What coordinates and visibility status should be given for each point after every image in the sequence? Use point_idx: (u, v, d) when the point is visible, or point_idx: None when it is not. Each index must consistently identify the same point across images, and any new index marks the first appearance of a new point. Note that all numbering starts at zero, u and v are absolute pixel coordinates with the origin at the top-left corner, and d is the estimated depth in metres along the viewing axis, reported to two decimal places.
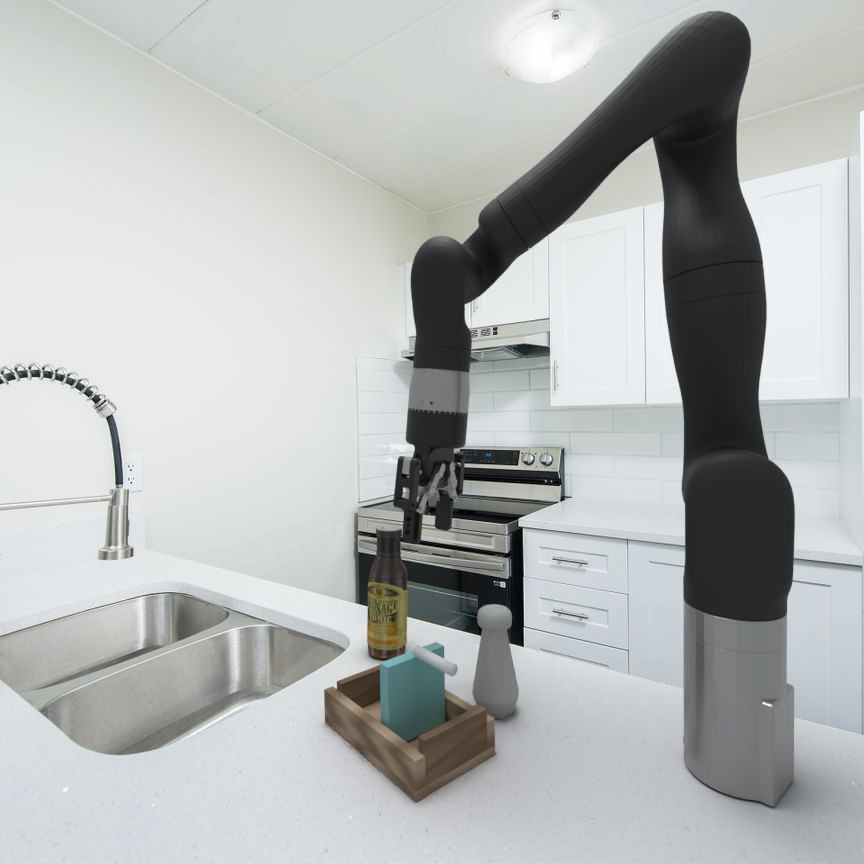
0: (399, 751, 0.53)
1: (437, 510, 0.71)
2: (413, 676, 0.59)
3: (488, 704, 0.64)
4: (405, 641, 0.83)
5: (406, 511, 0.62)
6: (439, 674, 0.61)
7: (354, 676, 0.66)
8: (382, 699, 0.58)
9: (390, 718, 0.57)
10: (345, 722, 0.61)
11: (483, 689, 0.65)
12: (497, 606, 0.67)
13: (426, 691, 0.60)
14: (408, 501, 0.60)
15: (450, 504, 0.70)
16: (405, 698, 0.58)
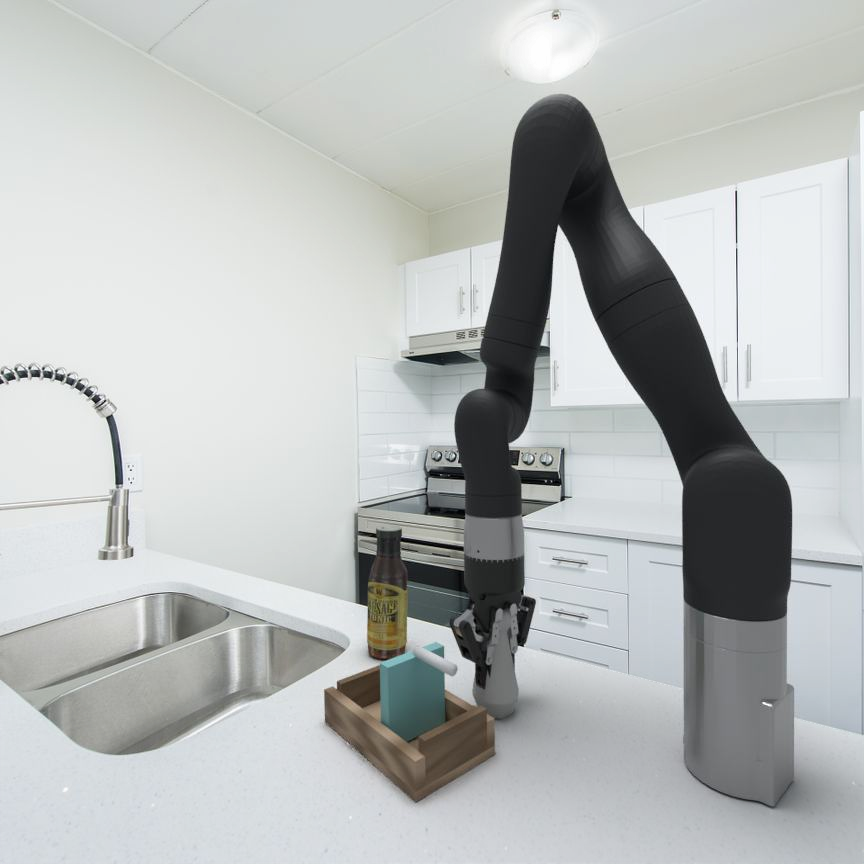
0: (399, 751, 0.53)
1: None
2: (413, 676, 0.59)
3: (488, 704, 0.64)
4: (405, 641, 0.83)
5: None
6: (439, 674, 0.61)
7: (354, 676, 0.66)
8: (382, 699, 0.58)
9: (390, 718, 0.57)
10: (345, 722, 0.61)
11: (483, 689, 0.65)
12: None
13: (426, 691, 0.60)
14: None
15: None
16: (405, 698, 0.58)
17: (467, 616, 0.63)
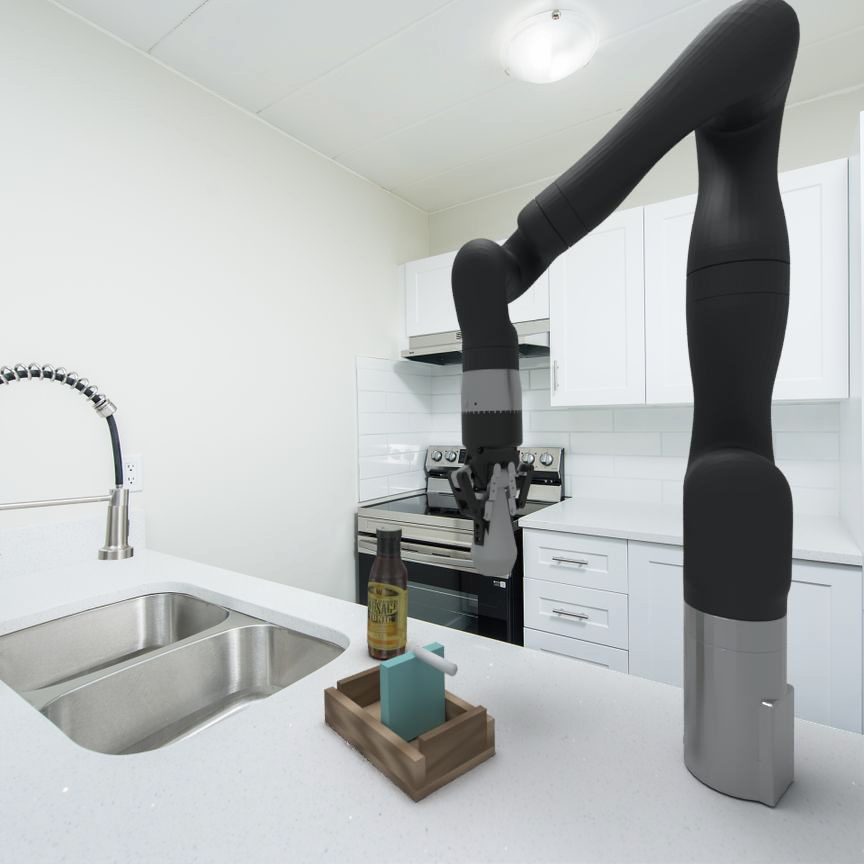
0: (399, 751, 0.53)
1: None
2: (413, 676, 0.59)
3: (486, 560, 0.64)
4: (405, 641, 0.83)
5: (476, 521, 0.65)
6: (439, 674, 0.61)
7: (354, 676, 0.66)
8: (382, 699, 0.58)
9: (390, 718, 0.57)
10: (345, 722, 0.61)
11: (481, 546, 0.64)
12: None
13: (426, 691, 0.60)
14: None
15: None
16: (405, 698, 0.58)
17: (465, 468, 0.62)
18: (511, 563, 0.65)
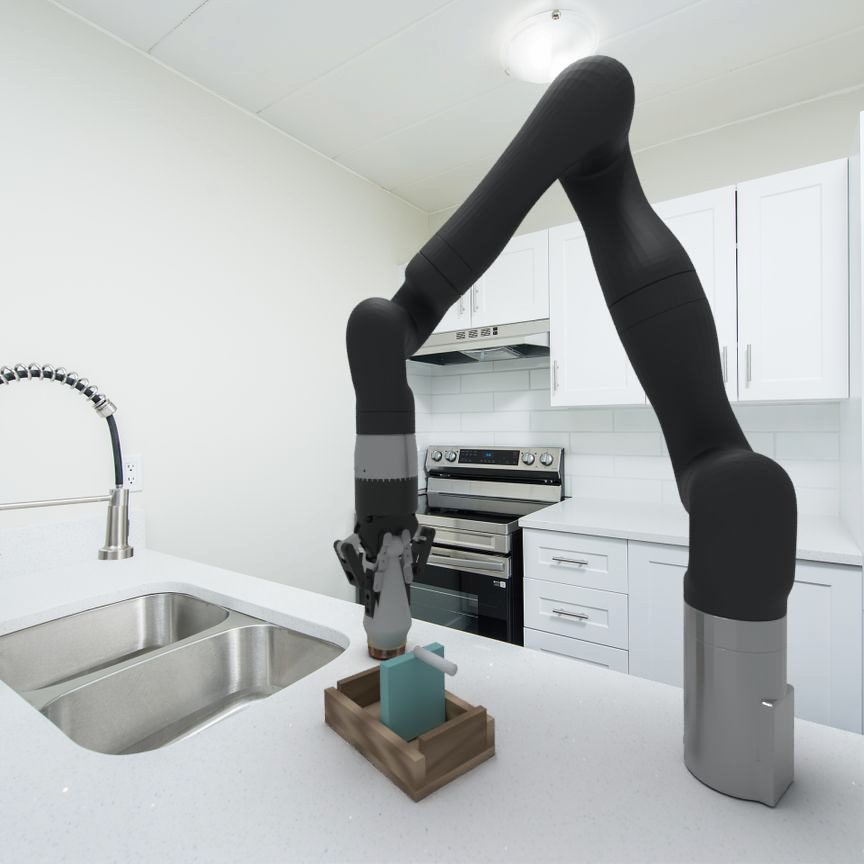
0: (399, 751, 0.53)
1: None
2: (413, 676, 0.59)
3: (375, 633, 0.61)
4: (405, 641, 0.83)
5: (367, 591, 0.62)
6: (439, 674, 0.61)
7: (354, 676, 0.66)
8: (382, 699, 0.58)
9: (390, 718, 0.57)
10: (345, 722, 0.61)
11: (371, 618, 0.61)
12: None
13: (426, 691, 0.60)
14: None
15: None
16: (405, 698, 0.58)
17: (351, 539, 0.59)
18: (403, 635, 0.62)
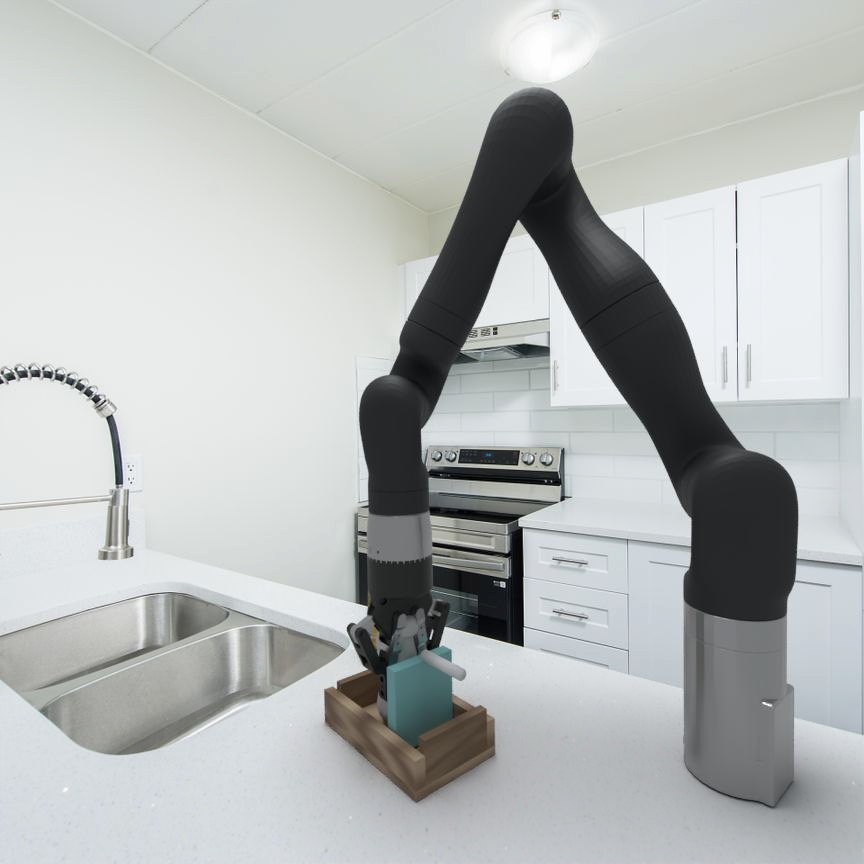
0: (399, 751, 0.53)
1: None
2: (420, 680, 0.58)
3: None
4: None
5: (381, 673, 0.60)
6: (447, 678, 0.60)
7: (354, 676, 0.66)
8: (389, 704, 0.57)
9: (397, 724, 0.56)
10: (345, 722, 0.61)
11: (385, 702, 0.60)
12: None
13: (433, 696, 0.59)
14: None
15: None
16: (412, 703, 0.57)
17: (365, 622, 0.58)
18: None
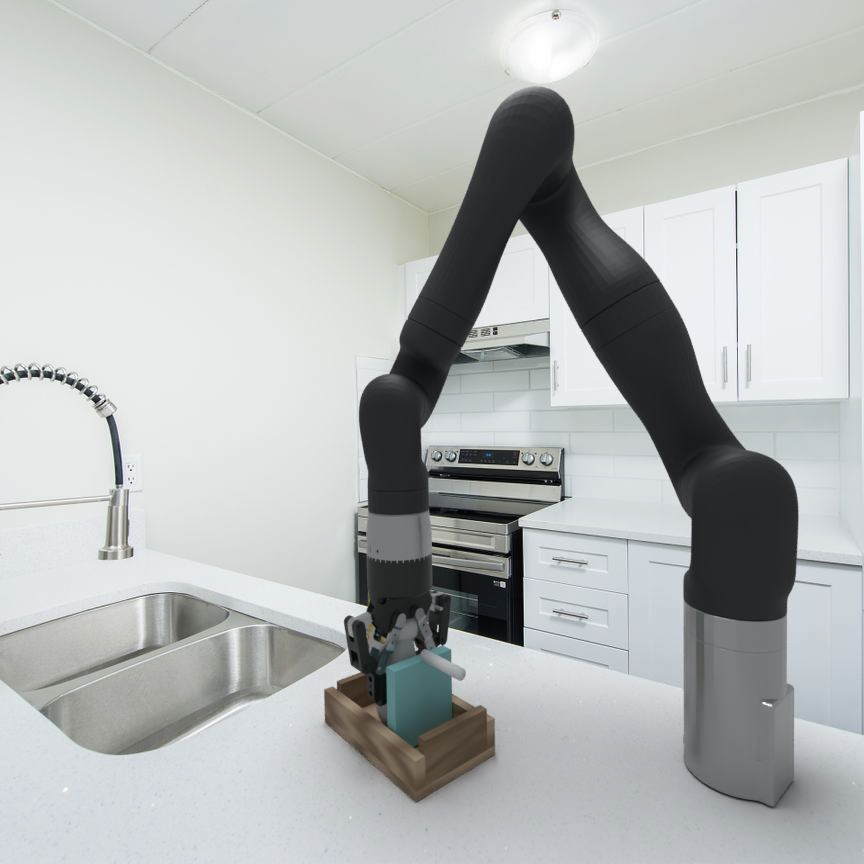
0: (399, 751, 0.53)
1: None
2: (420, 680, 0.58)
3: None
4: None
5: None
6: (446, 678, 0.60)
7: (354, 676, 0.66)
8: (389, 703, 0.57)
9: (397, 723, 0.56)
10: (345, 722, 0.61)
11: (385, 704, 0.60)
12: None
13: (433, 695, 0.59)
14: None
15: None
16: (412, 703, 0.57)
17: (364, 617, 0.58)
18: None
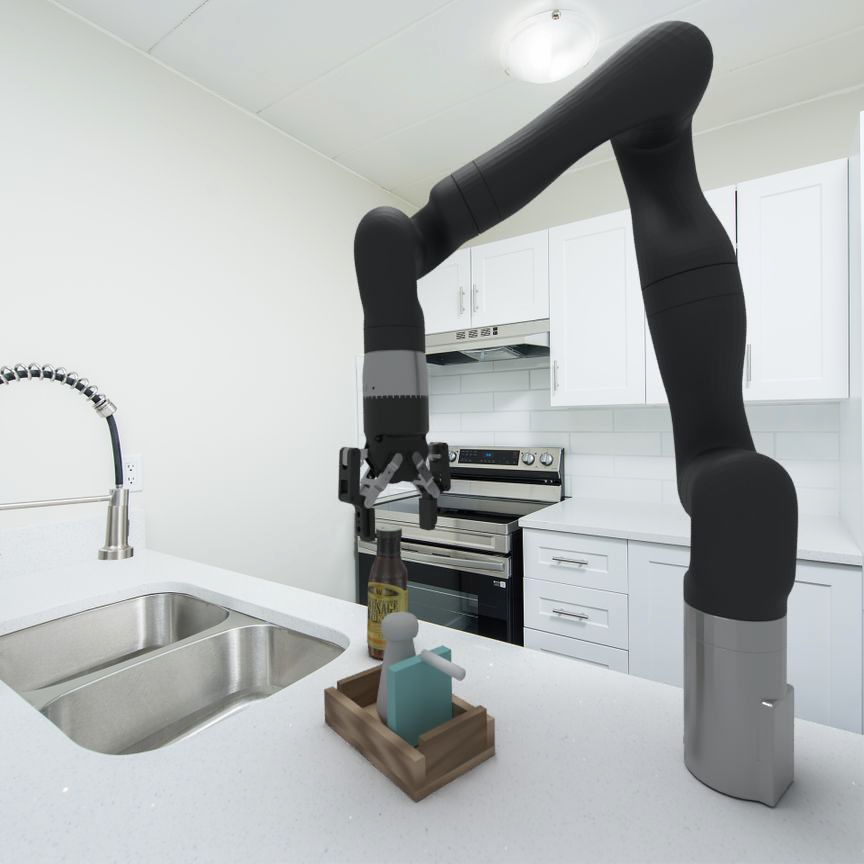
0: (399, 751, 0.53)
1: (420, 508, 0.64)
2: (420, 680, 0.58)
3: None
4: None
5: (355, 506, 0.58)
6: (446, 678, 0.60)
7: (354, 676, 0.66)
8: (389, 703, 0.57)
9: (397, 723, 0.56)
10: (345, 722, 0.61)
11: (385, 704, 0.60)
12: (403, 614, 0.62)
13: (433, 695, 0.59)
14: (348, 494, 0.56)
15: (429, 500, 0.63)
16: (412, 703, 0.57)
17: (361, 449, 0.57)
18: None
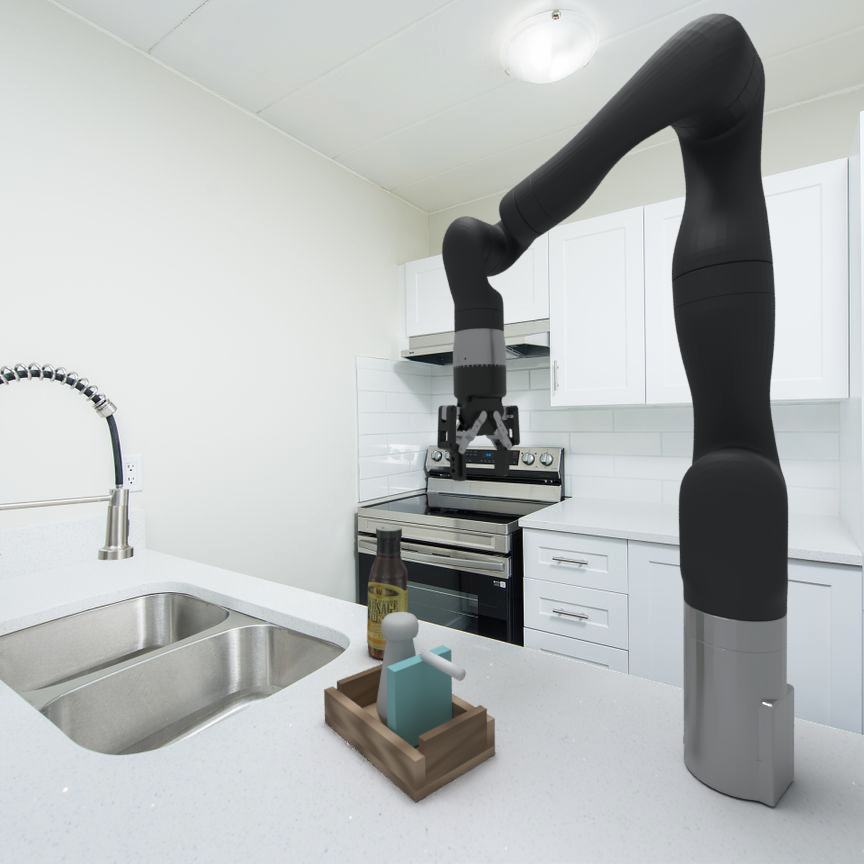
0: (399, 751, 0.53)
1: (495, 458, 0.79)
2: (420, 680, 0.58)
3: None
4: None
5: (450, 452, 0.73)
6: (446, 678, 0.60)
7: (354, 676, 0.66)
8: (389, 703, 0.57)
9: (397, 723, 0.56)
10: (345, 722, 0.61)
11: (385, 704, 0.60)
12: (403, 614, 0.62)
13: (433, 695, 0.59)
14: (447, 441, 0.71)
15: (504, 452, 0.78)
16: (412, 703, 0.57)
17: (455, 407, 0.72)
18: None
